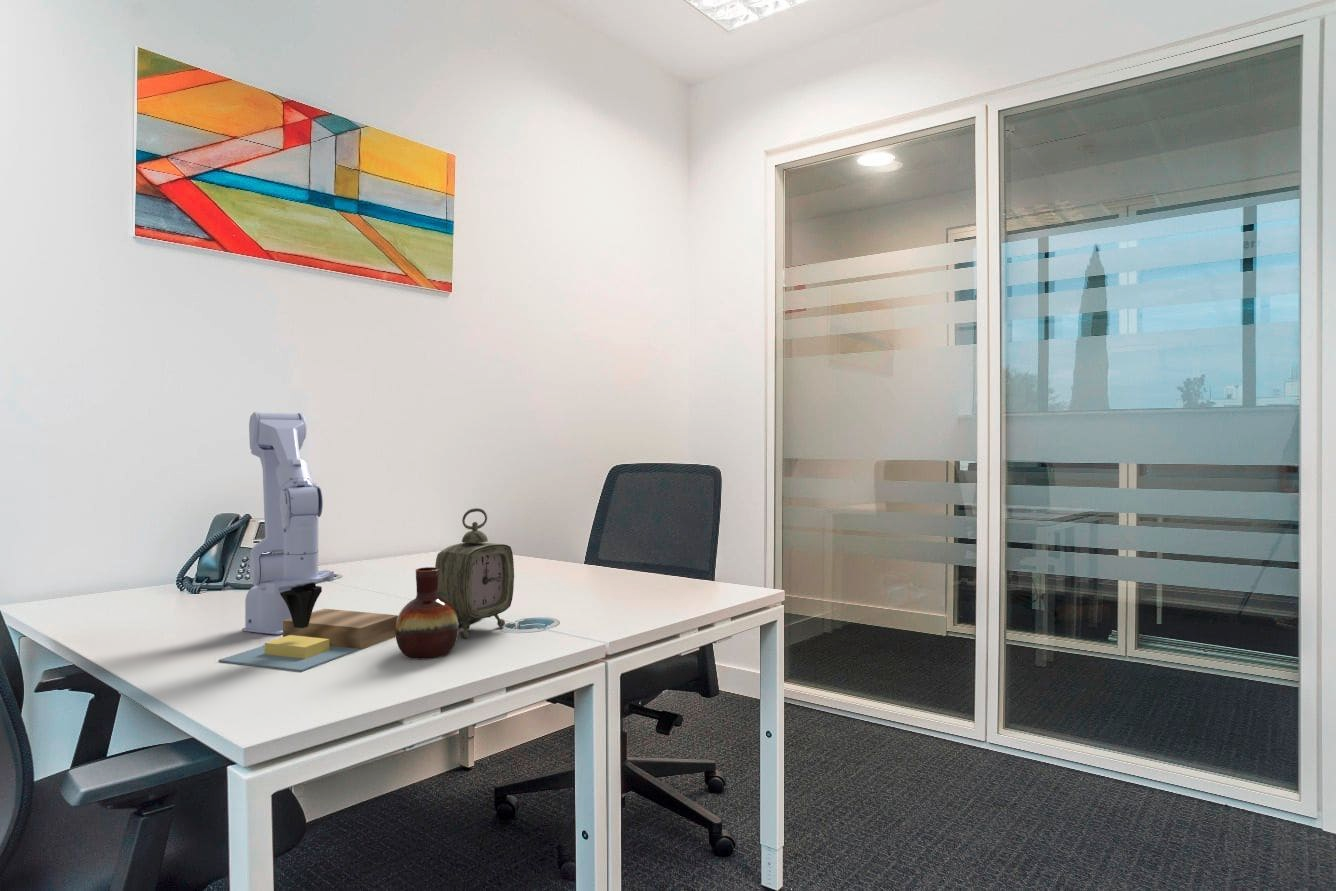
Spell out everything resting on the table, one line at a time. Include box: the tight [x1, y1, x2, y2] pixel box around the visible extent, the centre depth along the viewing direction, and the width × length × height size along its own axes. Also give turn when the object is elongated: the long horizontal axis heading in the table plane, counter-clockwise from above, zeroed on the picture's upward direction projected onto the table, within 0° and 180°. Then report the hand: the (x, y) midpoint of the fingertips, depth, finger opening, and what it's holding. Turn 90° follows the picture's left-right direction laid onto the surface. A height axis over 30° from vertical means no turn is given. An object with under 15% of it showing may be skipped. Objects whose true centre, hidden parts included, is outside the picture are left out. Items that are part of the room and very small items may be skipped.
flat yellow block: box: [263, 635, 330, 659], centre depth 143 cm, size 9×6×2 cm, turn 72°
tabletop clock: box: [434, 507, 515, 639], centre depth 160 cm, size 14×9×25 cm, turn 151°
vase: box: [395, 566, 460, 660], centre depth 144 cm, size 11×11×15 cm
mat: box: [218, 645, 360, 673], centre depth 142 cm, size 18×14×1 cm
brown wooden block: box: [282, 608, 399, 651], centre depth 154 cm, size 18×11×4 cm, turn 72°
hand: (301, 627), depth 144 cm, fingers closed
